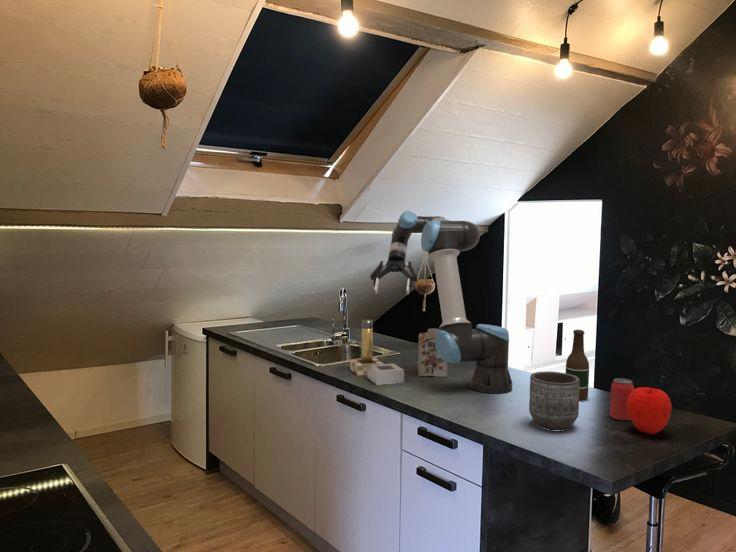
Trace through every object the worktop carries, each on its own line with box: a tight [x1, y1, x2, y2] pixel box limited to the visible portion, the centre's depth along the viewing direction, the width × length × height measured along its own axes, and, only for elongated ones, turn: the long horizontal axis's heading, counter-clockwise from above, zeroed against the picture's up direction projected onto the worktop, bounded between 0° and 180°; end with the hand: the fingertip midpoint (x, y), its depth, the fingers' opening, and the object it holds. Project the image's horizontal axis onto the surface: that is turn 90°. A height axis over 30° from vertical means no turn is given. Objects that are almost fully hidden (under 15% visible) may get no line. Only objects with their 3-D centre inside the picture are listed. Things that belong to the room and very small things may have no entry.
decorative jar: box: [417, 328, 449, 378], centre depth 240 cm, size 12×12×18 cm
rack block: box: [349, 357, 385, 376], centre depth 243 cm, size 11×11×4 cm
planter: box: [528, 371, 580, 432], centre depth 178 cm, size 14×14×15 cm
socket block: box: [366, 363, 405, 386], centre depth 229 cm, size 11×11×5 cm
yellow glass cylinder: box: [361, 319, 374, 364], centre depth 242 cm, size 4×4×21 cm
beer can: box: [609, 377, 635, 422], centre depth 186 cm, size 7×7×12 cm
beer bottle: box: [565, 329, 590, 402], centre depth 207 cm, size 8×8×24 cm
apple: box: [626, 386, 672, 435], centre depth 173 cm, size 12×12×13 cm
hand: (391, 292), depth 251 cm, fingers open, 13 cm apart
